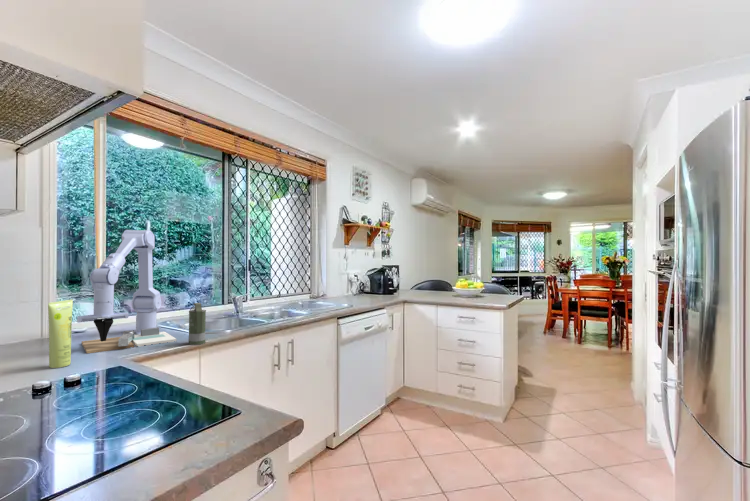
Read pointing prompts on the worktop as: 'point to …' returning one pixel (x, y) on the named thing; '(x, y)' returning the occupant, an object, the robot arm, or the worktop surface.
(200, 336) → the grenade
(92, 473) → the worktop surface
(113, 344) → the board
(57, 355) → the tube
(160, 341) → the door board
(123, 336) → the swing bar
